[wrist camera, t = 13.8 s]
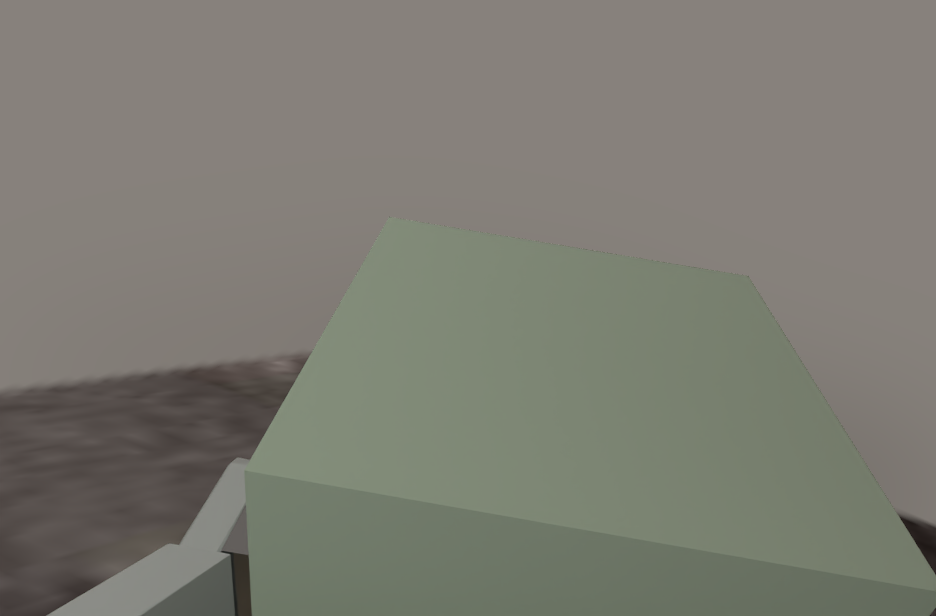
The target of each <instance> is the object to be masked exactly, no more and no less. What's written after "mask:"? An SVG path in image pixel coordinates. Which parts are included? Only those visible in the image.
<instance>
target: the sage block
mask: <svg viewBox="0 0 936 616" xmlns="http://www.w3.org/2000/svg"><path fill="white" fill-rule="evenodd" d="M244 475H245V494H246V513H247V533H248V552H249V571H250V590H251V609H252V616H930V614H931V613H932V612H933V611H934V609H935V608H936V575H935V573H934V572H933V570H932V569H931V567H930V565H929V564H928V562H927V561H926V559H925V557H924V556H923V554H922V553H921V551H920V549H919V548H918V546H917V545H916V543H915V541H914V540H913V538H912V537H911V535H910V533H909V532H908V530H907V529H906V527H905V525H904V524H903V522H902V521H901V519H900V517H899V516H898V514H897V513H896V511H895V509H894V508H893V506H892V505H891V503H890V502H889V500H888V498H887V497H886V495H885V494H884V492H883V490H882V489H881V487H880V486H879V484H878V482H877V481H876V479H875V478H874V476H873V474H872V473H871V471H870V470H869V468H868V466H867V465H866V463H865V462H864V460H863V458H862V457H861V455H860V454H859V452H858V451H857V449H856V447H855V446H854V444H853V442H852V441H851V439H850V438H849V436H848V434H847V433H846V431H845V430H844V428H843V426H842V425H841V423H840V422H839V420H838V418H837V417H836V416H835V414H834V412H833V411H832V409H831V407H830V406H829V404H828V403H827V401H826V399H825V398H824V396H823V395H822V393H821V391H820V390H819V388H818V387H817V385H816V384H815V382H814V380H813V379H812V377H811V375H810V374H809V372H808V371H807V369H806V367H805V366H804V364H803V363H802V361H801V360H800V358H799V356H798V355H797V353H796V352H795V350H794V348H793V347H792V345H791V344H790V342H789V340H788V339H787V337H786V335H785V334H784V332H783V331H782V329H781V328H780V326H779V324H778V323H777V321H776V320H775V318H774V316H773V315H772V313H771V312H770V310H769V308H768V307H767V305H766V304H765V302H764V301H763V299H762V297H761V296H760V294H759V292H758V291H757V289H756V288H755V286H754V284H753V283H752V281H751V280H750V278H749V276H744V275H738V274H732V273H725V272H720V271H714V270H708V269H701V268H696V267H689V266H683V265H678V264H671V263H665V262H659V261H653V260H647V259H641V258H635V257H629V256H622V255H617V254H611V253H605V252H599V251H593V250H587V249H580V248H574V247H568V246H562V245H556V244H550V243H544V242H537V241H532V240H525V239H520V238H514V237H508V236H501V235H496V234H489V233H483V232H477V231H471V230H465V229H459V228H453V227H447V226H441V225H435V224H429V223H423V222H416V221H410V220H405V219H399V218H392V217H389V218H388V220H387V222H386V224H385V226H384V227H383V229H382V231H381V232H380V234H379V236H378V238H377V239H376V241H375V243H374V245H373V247H372V248H371V250H370V252H369V253H368V255H367V257H366V259H365V260H364V262H363V264H362V266H361V267H360V269H359V271H358V273H357V274H356V276H355V278H354V280H353V281H352V283H351V285H350V287H349V288H348V290H347V292H346V294H345V295H344V297H343V299H342V301H341V302H340V304H339V306H338V308H337V309H336V311H335V313H334V315H333V316H332V318H331V320H330V321H329V323H328V325H327V327H326V329H325V330H324V332H323V334H322V336H321V337H320V339H319V341H318V343H317V344H316V346H315V348H314V349H313V351H312V353H311V355H310V356H309V358H308V360H307V362H306V363H305V365H304V367H303V369H302V370H301V372H300V374H299V376H298V377H297V379H296V381H295V383H294V384H293V386H292V388H291V390H290V391H289V393H288V395H287V397H286V398H285V400H284V402H283V404H282V405H281V407H280V409H279V411H278V412H277V414H276V416H275V418H274V419H273V421H272V423H271V425H270V426H269V428H268V430H267V432H266V433H265V435H264V437H263V438H262V440H261V442H260V444H259V445H258V447H257V449H256V451H255V452H254V454H253V456H252V458H251V459H250V461H249V463H248V465H247V466H246V468H245V470H244Z"/></svg>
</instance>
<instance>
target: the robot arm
mask: <svg viewBox="0 0 936 616" xmlns="http://www.w3.org/2000/svg"><path fill="white" fill-rule="evenodd" d="M249 461H250V460H248V459H243V458H238V457H237V458H236V459H235V460H234V461H232V462H231V463H230V464H229V465H228V466H227V468H226V470H225V471H224V473H223V474H222V476H221V478H220V479H219V481H218V483H217V484H216V486H215V487H214V489H213V491H212V492H211V494H210V496H209V497H208V499H207V500H206V502H205V504H204V505H203V507H202V508H201V510H200V512H199V513H198V515H197V517H196V518H195V520H194V521H193V523H192V525H191V526H190V528H189V530H188V531H187V533H186V534H185V536H184V538H183V539H182V541H181V542H180V544H179V545H177V544H170V543H168V544H166V545H165V546H163V547H161V548H160V549H158V550H156V551H155V552H153V553H151V554H150V555H148V556H146V557H144V558H143V559H141V560H139V561H138V562H136V563H134V564H133V565H131V566H129V567H128V568H126V569H124V570H123V571H121V572H119V573H117V574H116V575H114V576H112V577H111V578H109V579H107V580H106V581H104V582H102V583H101V584H99V585H97V586H96V587H94V588H92V589H91V590H89V591H87V592H85V593H84V594H82V595H80V596H79V597H77V598H75V599H74V600H72V601H70V602H69V603H67V604H65V605H64V606H62V607H60V608H58V609H57V610H55V611H53V612H52V613H50V614H48V615H47V616H252V609H251V590H250V571H249V552H248V533H247V513H246V494H245V475H244V470H245V468H246V466H247V465H248V463H249Z"/></svg>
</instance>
